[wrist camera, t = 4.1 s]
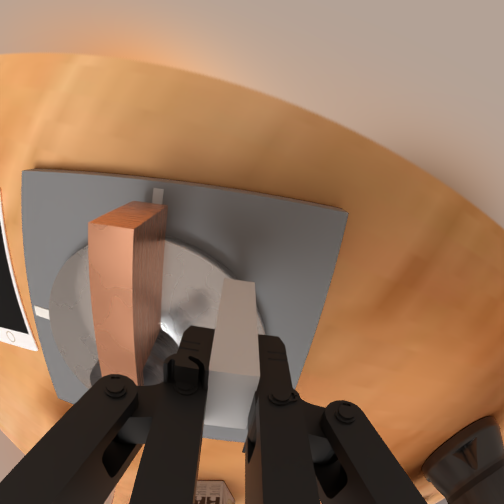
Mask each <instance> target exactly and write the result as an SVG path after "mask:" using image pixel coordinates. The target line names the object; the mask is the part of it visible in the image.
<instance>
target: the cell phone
mask: <svg viewBox="0 0 504 504" xmlns="http://www.w3.org/2000/svg"><path fill="white" fill-rule="evenodd" d="M0 341H2V342H5V343H9V344H12V345H15V346H19V347H22V348H26V349H29V350H33V351H38V349H39V348H38V345H37V343H36V340H35V337H34V335H33V332H32V329H31V326H30V323H29V321H28V318H27V315H26V311H25V308H24V305H23V302H22V298H21V295H20V291H19V288H18V284H17V280H16V276H15V272H14V268H13V264H12V259H11V254H10V249H9V244H8V239H7V233H6V226H5V219H4V212H3V203H2V193H1V188H0Z"/></svg>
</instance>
